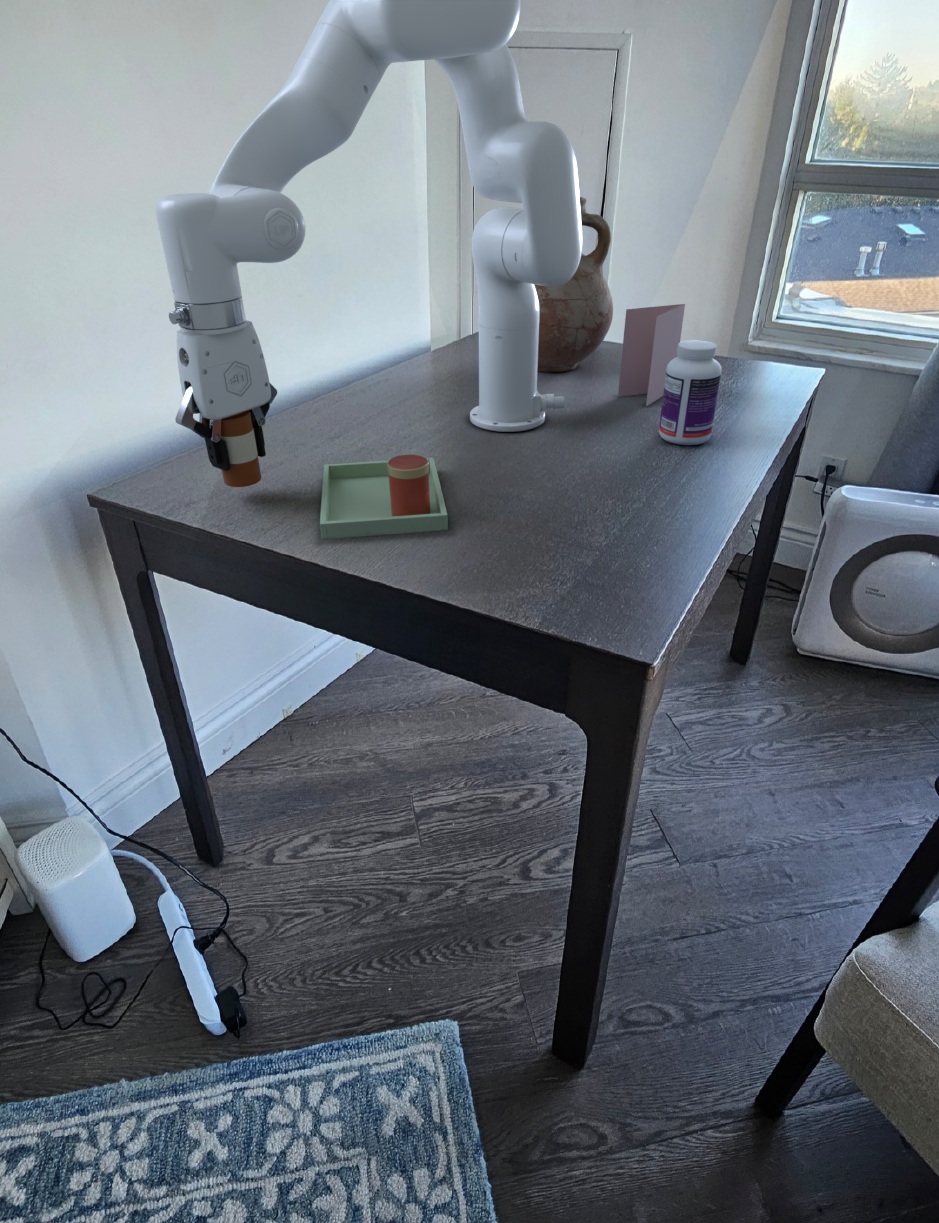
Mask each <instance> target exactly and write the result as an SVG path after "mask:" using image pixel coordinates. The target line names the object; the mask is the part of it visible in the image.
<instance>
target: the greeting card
mask: <svg viewBox="0 0 939 1223" xmlns="http://www.w3.org/2000/svg"><path fill="white" fill-rule="evenodd" d="M685 309H686V303H679V304H669V305H657V306H648V307H636V308H626V309H625V318H624V329H623V339H622V350H621V360H620V369H619V370H620V371H619V381H618V382H619V383H618V391H617V397H618V398H619V397H626V396H633V395H635V396H636V395H642V394H647V395H646V401H645V402H646V403H645V407H648V406H649V405H651V404H653V403H654V402H656V401H657V400H659V399H661V398H663V393H664V385H665V377H666V369H667V365H668V363H669V362H670V361H671V360H672V359H674V358H676V357H678V355H677V348H678V344H679V343H680V342H681V338H682V330H683V322H684V317H685V315H684V314H685Z"/></svg>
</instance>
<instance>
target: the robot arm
mask: <svg viewBox="0 0 939 1223" xmlns="http://www.w3.org/2000/svg"><path fill="white" fill-rule="evenodd" d="M520 14H521V0H328V2H327V4H326V5H325V7H324V9H323V11H322V12H321V14H320V17H319V19H318V21H317V23H316V24H315V27H314V28H313V30H312V32H311V34H310V36H309V38H308V40H307V41H306V44H305V45H304V47H303V49H302V51H301V53H300V56H299V57H298V59H297V61H296V63H295V65H294V67H293V69H292V70H291V72H290V74H289V76H288V78H287V79H286V81H285V83H284V85H283V86H282V87H281V89H280V90H279V91H278V92H277V93H276V95H274V96H273V98H271V99H270V101H268V103H267V104H266V105H265V106H264V108H263V109H262V110H261V111H260V113H259V114H257V116H256V117H255V118H254V119H253V121H251V123H249V125H248V126H247V127H246V128H245V129H244V130H243V132H242V133H241V134H240V136H238V138H237V140H236V141H235V142H234V143H233V146H232V147H231V149H230V150H229V152H228V154H227V156H226V157H225V159H224V161H223V163H222V164H221V166H220V168H219V170H218V172H217V174H216V176H215V178H214V180H213V182H212V184H211V186H210V188H209V190H208V193H207V192H205V193H204V192H203V193H202V192H190V193H189V192H187V193H185V192H184V193H174V194H169V195H164V196H163V197H161V198H160V199H158V200H157V203H156V207H155V214H156V221H157V225H158V229H159V234H160V239H161V243H162V248H163V252H164V258H165V262H166V267H167V272H168V278H169V281H170V286H171V290H172V291H171V292H172V295H173V299H174V310H173V311H170V312H169V313H168V319H169V321H170V323H171V324H172V325H178V326H179V327H180V329H178V330H176V356H177V357H176V358H177V359H176V360H177V368H178V375H179V382H180V388H181V393H182V400H181V403H180V405H179V408H178V411H177V413H176V416H175V418H174V419H175V423H176V424H178V425H180V426H182V427H184V428H186V429H189V430H190V431H192V432H193V433H195V434H197V435H198V436H199V437H200V438H202V439H204V442H205V446H206V451H207V452H206V453H207V456H208V461H209V462H210V464H211V466H212V467H213V468H216V469H219V470H221V471H222V470H224V471H228V470H230V468H231V465H230V460H229V455H228V450H227V445H226V441H225V440H222V439H221V420H222V419H223V418H226V417H230V416H233V415H236V414H239V413H242V412H245V411H248V410H249V411H250V415H251V420H252V426H253V429H254V435H255V441H256V447H257V452H258V458H259V457H260V458H264V457H266V455H267V452H266V447H265V446H266V442H265V437H264V432H263V426H265V425H266V416H267V414H268V412H269V410H270V408H271V404H272V403H273V402H274V400H275V398H276V397H277V395H278V390H277V388H275V386H274V385H273V384H272V383H271V382H270V378H269V373H268V369H267V368H268V367H267V364H266V361H265V360H266V359H265V357H264V351H263V349H262V345H261V342H260V339H259V336H258V333H257V330H256V329H255V326H254V324H253V322H252V320H251V321H250V320H247V319H246V313H245V306H244V300H243V295H242V289H241V282H240V275H239V271H238V270H239V269H238V264H239V263H258V264H259V263H261V264H277V263H282V262H284V261H287V260H289V259H291V258H292V257H293V256H295V255H296V254H297V253H298V252H299V250H300V249H301V248H302V246H303V244H304V241H305V238H306V223H305V222H306V221H305V218H304V216H303V213H302V211H301V210H300V208H299V207H298V205H297V204H296V203H295V202H294V201H293V200H292V199H291V198H289V197H288V196H287V195H285V194H283V193H282V192H283V190H284V189H285V188H286V186H287V185H288V184H289V183H290V182H291V180H292V179H294V177H295V176H296V175H297V174H298V173H300V172H301V171H302V170H303V169H304V168H306V167H307V166H309V165H311V164H312V163H314V162H316V161H318V160H320V159H322V158H324V157H326V156H328V155H329V154H331V153H333V152H334V151H335V150H337V149H338V148H340V147H341V146H342V145H344V144H345V143H346V142H347V141H348V140H349V139H350V137H351V136H352V135H353V133H354V131H355V129H356V127H357V125H358V123H359V121H360V119H361V118H362V116H363V113H364V111H365V109H366V107H367V106H368V104H369V102H370V100H371V98H372V96H373V95H374V93H375V91H376V89H377V87H378V85H379V83H380V82H381V80H382V78H383V76H384V75H385V73H386V71H387V69H388V67H389V66H390V65H391V64H395V63H407V62H416V61H419V62H420V61H432V60H434V61H435V62H436V63H437V64H438V65H439V67H440V68H441V70H443V72H444V73H445V75H446V76H447V78H448V79H449V82H450V84H451V87H452V89H453V91H454V94H455V99H456V103H457V108H458V113H459V118H460V124H461V129H462V136H463V143H464V148H465V149H464V150H465V154H466V161H467V166H468V173H469V176H470V181H471V184H472V187H473V188H474V190H475V191H476V192H477V194H479V195H480V196H481V197H482V198H485V199H488V200H492V201H497V202H505V203H506V202H507V203H516V204H522V207H523V208H522V207H512V206H511V207H510V206H507V207H506V206H505V207H504V206H503V207H498V208H493V209H491V210H489V211H486V213H484V214H483V215H482V216H481V217H480V218H479V220H477V223H476V224H475V227H474V228H473V231H472V235H471V257H472V264H473V268H474V274H475V280H476V288H477V299H478V300H477V302H478V303H477V304H478V405H477V406H475V407H473V408H472V409H471V410H470V412H469V420H470V423H471V424H473V426H475V427H478V428H479V429H482V430H486V431H491V432H500V433H502V432H503V433H514V432H516V433H517V432H524V431H528V430H533V429H535V428H537V427H540V426H541V425H542V424H544V423H545V420H546V411H547V410H548V409H553V410H556V409H557V410H558V409H565V406H566V400H565V396H564V395H563V396H555V394H554V393H545V394H540V392H539V391H538V370H537V367H538V340H539V317H540V310H539V301H538V296H537V292H536V289H535V286H534V284H535V285H541V286H548V287H555V286H560V285H562V284H564V283H566V282H567V281H569V280H570V279H571V278H572V277H573V275H574V274H575V272H576V270H577V268H578V266H579V262H580V259H581V253H582V254H583V228H582V226H583V225H581V211H580V198H579V197H580V187H579V186H580V185H579V174H578V163H577V158H576V153H575V150H574V147H573V145H572V142H571V140H570V138H569V136H568V135H567V133H566V132H565V131H564V130H563V129H562V128H561V127H560V126H558V125H556V124H554V123H552V122H548V121H539V120H538V121H537V120H536V121H534V120H533V121H531V120H530V121H528V120H527V117H526V114H525V109H524V108H525V107H524V103H523V102H524V101H523V96H522V95H523V94H522V89H521V84H520V78H519V73H518V72H519V71H518V69H517V66H516V62H515V58H514V57H513V55H512V52H511V50H510V48H509V46H508V45H507V43H508V42H509V41H510V40H511V38H512V37H513V35H514V33H515V32H516V30H517V26H518V23H519V20H520ZM198 414H199V416H198V419H199V421H198V420H196V419H195V418H194V415H198Z"/></svg>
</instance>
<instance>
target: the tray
mask: <svg viewBox="0 0 939 1223" xmlns="http://www.w3.org/2000/svg"><path fill="white" fill-rule="evenodd" d="M426 458H427V459H428V461H429V491H430V514H422V515H407V516H393V517H392V514H391V501H390V488H389V475H388V467H387V462H388V461H389V460H374V461H360V462H358V461H357V462H342V463H327V464H323V471H322V474H323V475H322V487H321V488H322V489H321V502H320V515H319V516H320V517H319V530H320V536H321V540H327V539H329V540H330V539H342V538H354V537H355V538H356V537H369V536H370V537H371V536H383V535H385V536H386V535H398V534H410V533H426V532H439V531H448V530H449V524H448V520H449V519H448V518H449V517H448V512H447V507H446V504H445V499H444V495H443V491H442V487H441V483H440V478H439V474H438V471H437V470H438V469H437V467H436V466H437V465H436V462H435V458H434V457H426Z"/></svg>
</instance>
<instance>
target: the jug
mask: <svg viewBox="0 0 939 1223" xmlns="http://www.w3.org/2000/svg"><path fill="white" fill-rule="evenodd" d="M579 198H580V211H581V225H582V226H584V227H589V228H592V229H593V230H595V231H596V233H597V243H596V246H595V249H594V250H592V252H590V253H588V254H587V255H585V254H584V253H583V252H582V253H581V259H580V262H579V266H578V268H577V270H576V272H575V274H574V275H573V277H572V278H571V279H570V280H569V281H567V282H566V283H564V284H562V285H560V286H555V287H548V286H541V285H535V284H534V286H535V289H536V292H537V296H538V301H539V310H540V317H539V340H538V367H537V371H538V372H545V373H546V372H547V373H555V372H558V373H561V372H563V373H564V372H568V371H572V370H574V369H576V368H577V366H578V363H579V362H581V361H583V360H585V359H586V358H588V357H589V356H591V355H592V354H593V353H594V352H595V351H597V349H598V348H599V347H600V346H601V344H602V343H603V342H604V340H605V338H606V336H607V334H608V332H609V330H610V328H611V326H612V322H613V316H614V304H613V297H612V294H611V291H610V287H609V284H608V282H607V279H606V277H605V274H604V270H603V267H604V266H603V265H604V263H605V261H606V258H607V256H608V254H609V249H610V246H611V241H612V236H611V235H612V234H611V228H610V226H609V224H608V222H607V221H606V219H605V218H604V217H603V216H601V215H599V214H597V213H594V214H593V213H589V212H587V209H586V208H587V207H586V204H587V198H585V197H582V196H579Z"/></svg>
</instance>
